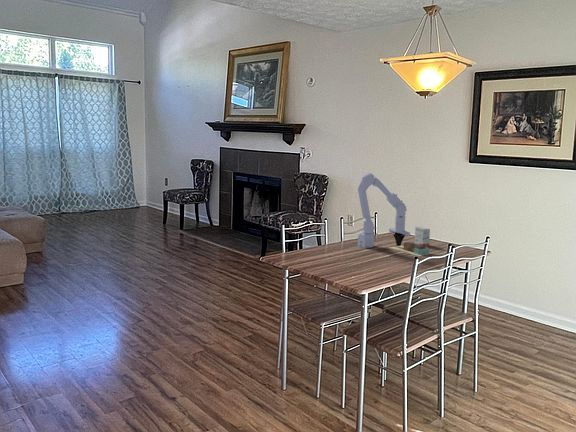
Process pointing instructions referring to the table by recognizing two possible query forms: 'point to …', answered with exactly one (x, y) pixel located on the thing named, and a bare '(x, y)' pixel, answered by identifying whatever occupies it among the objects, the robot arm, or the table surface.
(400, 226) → the robot arm
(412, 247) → the brown rectangular block
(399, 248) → the board
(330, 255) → the table surface
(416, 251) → the end cap
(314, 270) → the table surface
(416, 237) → the ink box
